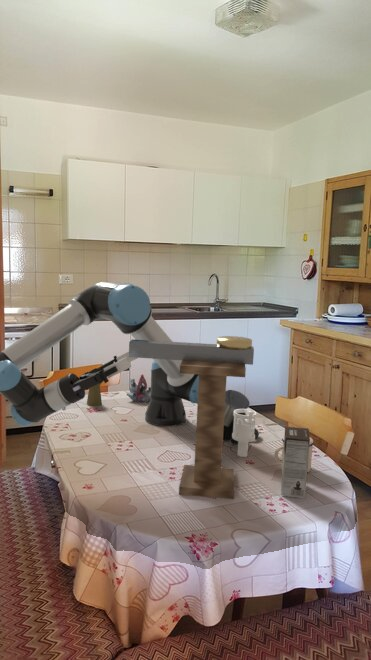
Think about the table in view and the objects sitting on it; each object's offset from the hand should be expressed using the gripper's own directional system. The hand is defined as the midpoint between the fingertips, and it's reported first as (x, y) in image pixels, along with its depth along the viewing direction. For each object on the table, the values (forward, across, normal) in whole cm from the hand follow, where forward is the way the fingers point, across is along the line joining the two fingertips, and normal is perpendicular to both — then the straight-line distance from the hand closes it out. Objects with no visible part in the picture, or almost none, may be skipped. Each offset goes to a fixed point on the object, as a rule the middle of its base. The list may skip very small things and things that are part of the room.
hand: (134, 356), depth 132 cm
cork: (-42, -65, -15) cm, 79 cm away
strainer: (+9, -23, -45) cm, 51 cm away
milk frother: (+7, -39, -42) cm, 58 cm away
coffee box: (+20, -2, -52) cm, 55 cm away
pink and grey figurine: (-28, -75, -24) cm, 84 cm away
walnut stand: (+1, -1, -40) cm, 40 cm away
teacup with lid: (+21, -16, -52) cm, 58 cm away
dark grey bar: (+13, -1, -7) cm, 15 cm away
